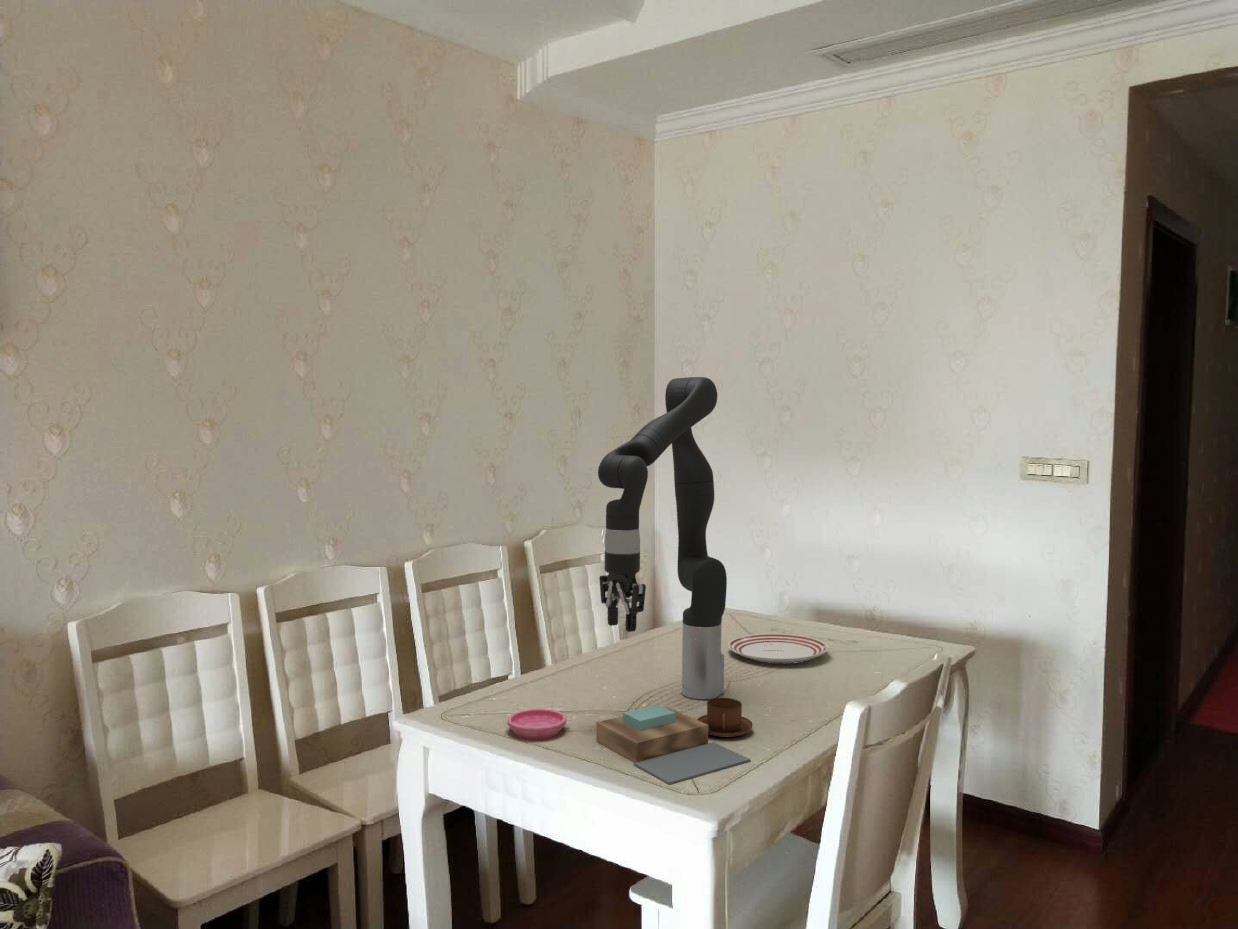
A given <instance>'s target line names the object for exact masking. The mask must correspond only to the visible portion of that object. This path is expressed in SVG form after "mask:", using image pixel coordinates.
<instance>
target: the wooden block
mask: <svg viewBox="0 0 1238 929" xmlns="http://www.w3.org/2000/svg"><path fill="white" fill-rule="evenodd" d="M663 707H664V708H666V709H669V710H671V711H673V712H675V713H676V722H674V723H670V724H666V725H662V726H658V727H654V728H650V729H645V730H641V731H640V730H638V729H636V728H634V727H631V726H629V725H627V724H625V723H623V715H622V716H618V717H613V718H608V719H605V720H601V721H596V722H595V724H596V726H595V729H596V730H595V734H596V735H595V736H596V738H595V742H597V743H598V744H600V745H602V746H604V747H606V748H607V749H610V750H612V751H613V752H615V753H616V754H619V755H620V756H623V758H626V759H627V760H630V761H631V762H633V763H636V762H640V761H644V760H648V759H651V758H655V757H659V756H663V755H666V754H670V753H674V752H678V751H681V750H685V749H689V748H693V747H697V746H700V745H704V744H708V743H709V734H708V725H707V724H705V723H703V722H700V721H698V720H697V719H696V718H693V717H691V716H689V715H687V714H684V713H682V712H681V711H677V710H675V709H672V708H671V707H668V706H666V705H665V706H663Z"/></svg>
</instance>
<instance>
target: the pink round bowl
mask: <svg viewBox="0 0 1238 929" xmlns="http://www.w3.org/2000/svg"><path fill="white" fill-rule="evenodd" d="M506 720H507V725H508V727H509V729H511V731H512V732H514V734H515V735H516V736H518V737H520V738H523V739H527V740H543V739H549V738H552V737H554V736H556V735H558V734H559V733H560V732H561V730H562V729H564V727H565V726H566V724H567V716H566V714H565V713H564V712H562V711H559V710H556V709H555V710H554V709H549V708H529V709H523V710H519V711H515V712H514V713H511V714H509V716H508V717H507V719H506Z"/></svg>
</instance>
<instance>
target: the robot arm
mask: <svg viewBox="0 0 1238 929" xmlns="http://www.w3.org/2000/svg"><path fill="white" fill-rule="evenodd" d="M664 395H665V396H664V398H665V402H664V403H665V409H666V410H665V411H666V413H663V414H662V415H660V416H658V417H656V418H654V419H652V420H650V421H649V422H648V423H647V424H645V425H643V427H641V429H639V431H638V432H636V433H635V435H634V436H632V438H631V439H630V440H629V441H627V442H625V443H623V444H621V445H619V446H617V447H616V448H614V449H613V450H611V451H609V452H608V453H607V454H606V455H605V456H604V457H603V458H602V460H601V462H600V463H599V466H598V469H597V476H598V479H599V482H600V483H601V485H603V486H605V487H607V488H610V489H621V490H623V491H622V494H621V497H620V498H619V499H613V500H610V501H608V502H607V504H606V507H605V534H604V567H603V568H604V571H605V573H607V574H604V575H603V574H602V575H600V576H599V587H600V588H599V590H600V591H599V592H600V602H601V604H604V605H605V607H606V608H607V624H608V625H609V626H610V627H611V626H612V627H613V626H617V625H618V624H619V607H618V605H619V603H620V602H621V604H622V605H624V610H625V631H626V632H627V633H628V632H629V633H631V632H632V633H633V632H635V631H637V618H638V617H637V615H638V614H639V613H641V612H644V611H645V610H644V609H645V599H646V598H645V597H646V588H647V587H646V584H644V583H642V584H640V583H638V582H637V577H636V575H637V574H638V573H639V572H640V570H641V535H640V507H641V504H642V500H643V497H644V493H645V490H646V486H647V481H648V477H649V470H648V467H649V466H652V465H653V464H654V463H655V462H656V461H657V460H658V459H659V458H660V456H662V454H663V453H664V452H666V450H667V449H668V448H669V446H671V449H672V463H673V481H674V482H673V483H674V497H675V504H676V521H677V522H676V523H677V534H678V535H677V536H678V538H677V541H678V543H677V545H678V546H677V577H678V582H679V583H680V585H681V586H682V587H683V588H684V589H685V590H687V591H689V592H691V600H690V606H689V607H687V608H685V609H684V610H683V611H682V641H681V643H682V646H681V647H682V649H681V650H682V652H681V654H682V657H681V694H682V695H683V696H684V697H686V698H688V699H694V700H711V699H714V698H719V697H720V696H721V695H722V694H724V692H725V691H724V690H725V688H724V686H725V654H724V653H722V620H723V615H724V612H725V610H726V604H727V603H726V601H727V583H728V578H727V572H726V568H725V565H724V564H723V563H722V561H721V560H719V559H717V558H714V557H712V556H709V555H708V548H707V528H708V527H707V526H708V523H709V520H710V517H711V515H712V511H713V508H714V503H715V482H714V472H713V469H712V467H711V465H710V463H709V461H708V459H707V457H706V456H705V454H704V453H703V452H702V450H701V448H700V447H699V445H698V443H697V441H696V439H695V437H694V435H693V429H692V427H693V426H695V425H697V423H699V422H701V421H702V420H703V419H704V418H706V417H707V416H709V415H710V414H711V413H712V412H713V411H714V409H715V408H716V405H717V402H718V390H717V387H716V384H715V383H714V381H713V380H712V379H710V378H708V377H704V376H692V377H691V376H690V377H679V378H678V377H677V378H672V379H671V380H669V382H668V383H667V385H666V388H665V394H664ZM630 604H631V605H630Z"/></svg>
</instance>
